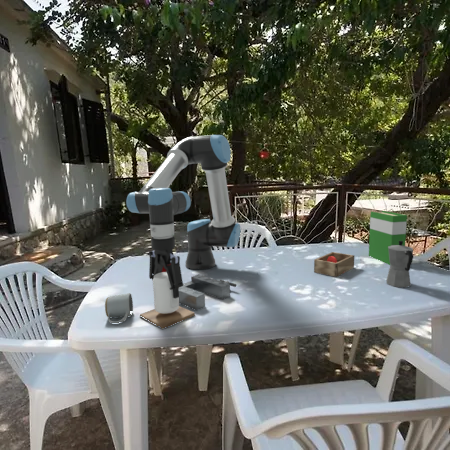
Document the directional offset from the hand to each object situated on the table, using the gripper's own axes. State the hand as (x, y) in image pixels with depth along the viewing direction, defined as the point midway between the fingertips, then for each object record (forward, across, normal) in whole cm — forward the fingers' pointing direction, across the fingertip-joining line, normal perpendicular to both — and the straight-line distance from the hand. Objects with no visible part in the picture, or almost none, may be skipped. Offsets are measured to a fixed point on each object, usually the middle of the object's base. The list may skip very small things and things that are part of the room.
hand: (166, 303), depth 111 cm
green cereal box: (+5, +31, +114) cm, 118 cm away
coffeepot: (+5, +48, +80) cm, 93 cm away
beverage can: (+2, 0, 0) cm, 2 cm away
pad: (+5, 0, 0) cm, 5 cm away
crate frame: (+5, +19, +82) cm, 84 cm away
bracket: (+6, +18, +81) cm, 83 cm away
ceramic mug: (+5, -11, -11) cm, 17 cm away
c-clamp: (+5, -5, +21) cm, 22 cm away
